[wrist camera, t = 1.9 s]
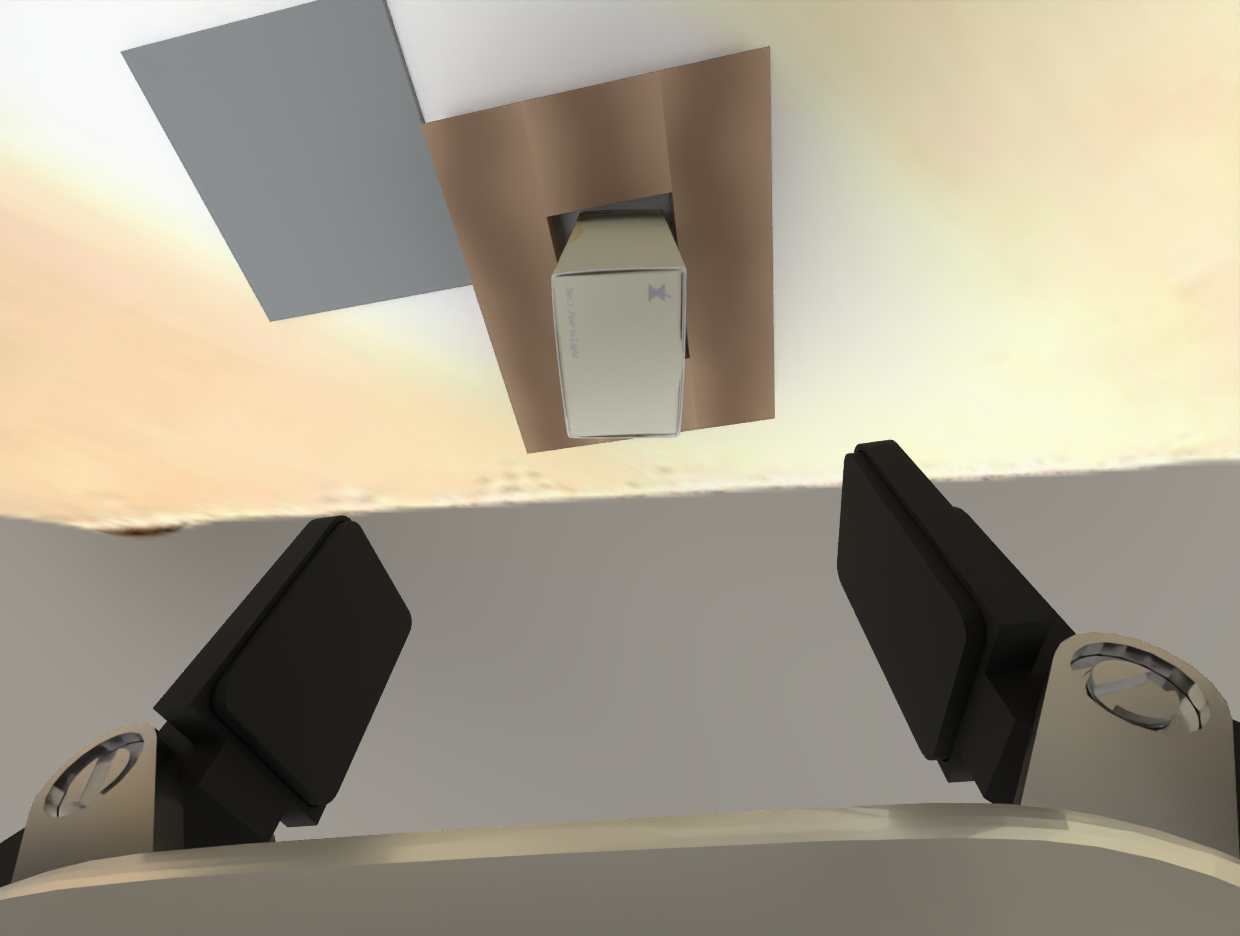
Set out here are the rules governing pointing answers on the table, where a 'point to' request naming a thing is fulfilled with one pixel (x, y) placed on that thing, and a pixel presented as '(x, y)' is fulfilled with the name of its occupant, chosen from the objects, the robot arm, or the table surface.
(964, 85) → the table surface
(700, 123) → the pocket block
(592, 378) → the skincare box
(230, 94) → the slate mat
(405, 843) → the robot arm
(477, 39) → the table surface
